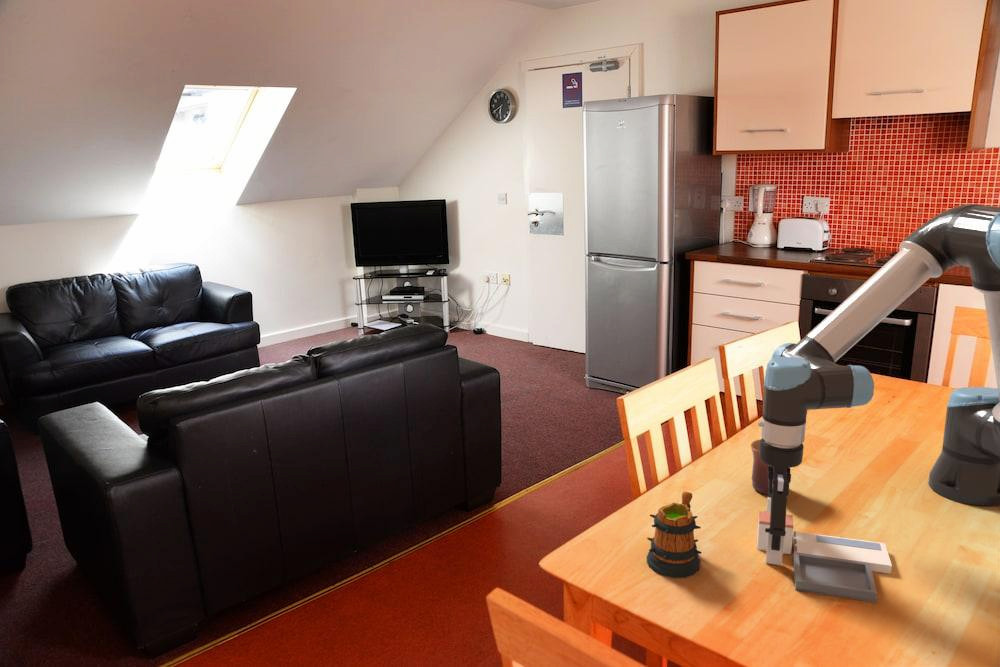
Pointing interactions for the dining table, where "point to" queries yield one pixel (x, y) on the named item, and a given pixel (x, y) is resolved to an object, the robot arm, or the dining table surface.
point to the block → (763, 536)
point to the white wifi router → (844, 549)
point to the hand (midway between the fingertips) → (773, 545)
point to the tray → (834, 577)
